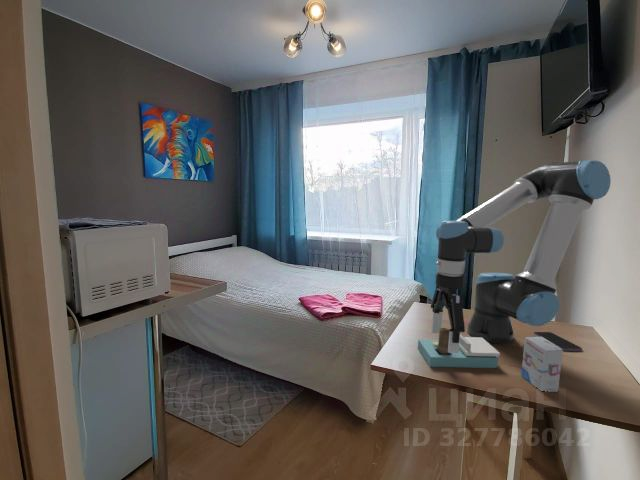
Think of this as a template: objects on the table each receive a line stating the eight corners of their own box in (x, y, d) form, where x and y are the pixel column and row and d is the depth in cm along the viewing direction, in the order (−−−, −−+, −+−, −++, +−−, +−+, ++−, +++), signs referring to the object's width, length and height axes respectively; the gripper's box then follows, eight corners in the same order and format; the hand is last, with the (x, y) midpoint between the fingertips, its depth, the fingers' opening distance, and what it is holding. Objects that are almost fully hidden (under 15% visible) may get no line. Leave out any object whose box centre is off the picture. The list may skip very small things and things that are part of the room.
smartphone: (550, 331, 128) (584, 348, 113) (550, 334, 128) (583, 352, 114) (532, 331, 128) (563, 348, 113) (532, 334, 128) (563, 352, 113)
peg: (435, 358, 105) (438, 327, 104) (444, 358, 105) (447, 328, 104) (439, 363, 102) (441, 331, 101) (448, 363, 102) (451, 332, 101)
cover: (481, 340, 112) (482, 331, 111) (499, 356, 101) (500, 346, 100) (451, 339, 111) (452, 330, 111) (466, 355, 100) (467, 345, 100)
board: (477, 349, 113) (478, 340, 112) (497, 368, 101) (498, 358, 100) (417, 348, 112) (418, 339, 112) (429, 366, 100) (430, 356, 100)
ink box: (519, 375, 97) (524, 335, 95) (535, 374, 98) (540, 335, 96) (541, 392, 89) (546, 349, 87) (559, 392, 89) (565, 349, 87)
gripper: (423, 264, 112) (419, 325, 115) (454, 284, 88) (447, 362, 91) (446, 264, 112) (441, 325, 115) (483, 285, 88) (475, 362, 91)
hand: (444, 341), depth 103 cm, fingers open, 13 cm apart
